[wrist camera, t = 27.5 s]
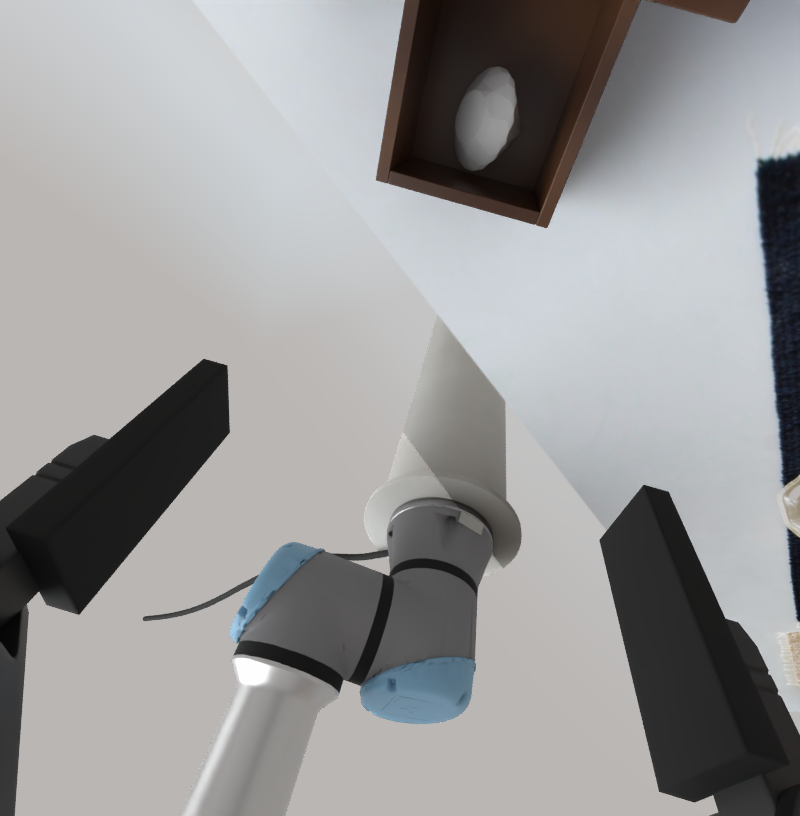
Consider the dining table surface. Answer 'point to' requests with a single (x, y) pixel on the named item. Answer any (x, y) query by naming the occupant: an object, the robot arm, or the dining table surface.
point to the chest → (535, 89)
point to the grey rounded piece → (486, 119)
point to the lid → (710, 8)
